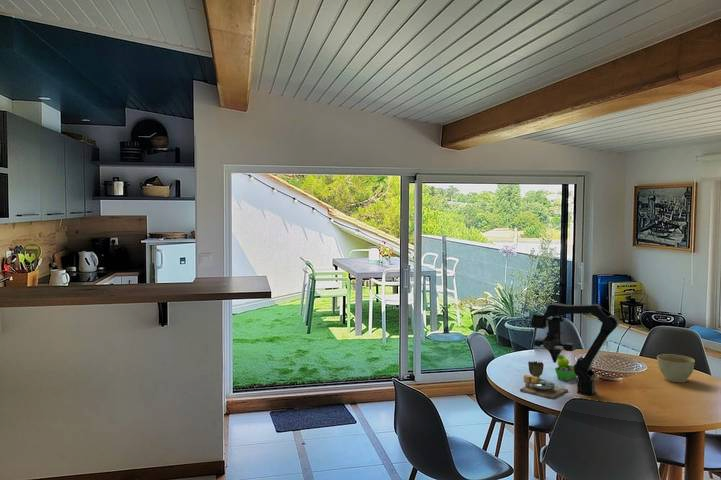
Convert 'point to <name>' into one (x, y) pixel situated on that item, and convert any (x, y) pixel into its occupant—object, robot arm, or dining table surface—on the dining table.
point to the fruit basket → (564, 369)
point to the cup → (536, 368)
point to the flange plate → (539, 383)
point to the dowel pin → (527, 381)
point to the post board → (544, 391)
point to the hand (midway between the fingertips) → (554, 362)
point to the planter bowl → (675, 367)
